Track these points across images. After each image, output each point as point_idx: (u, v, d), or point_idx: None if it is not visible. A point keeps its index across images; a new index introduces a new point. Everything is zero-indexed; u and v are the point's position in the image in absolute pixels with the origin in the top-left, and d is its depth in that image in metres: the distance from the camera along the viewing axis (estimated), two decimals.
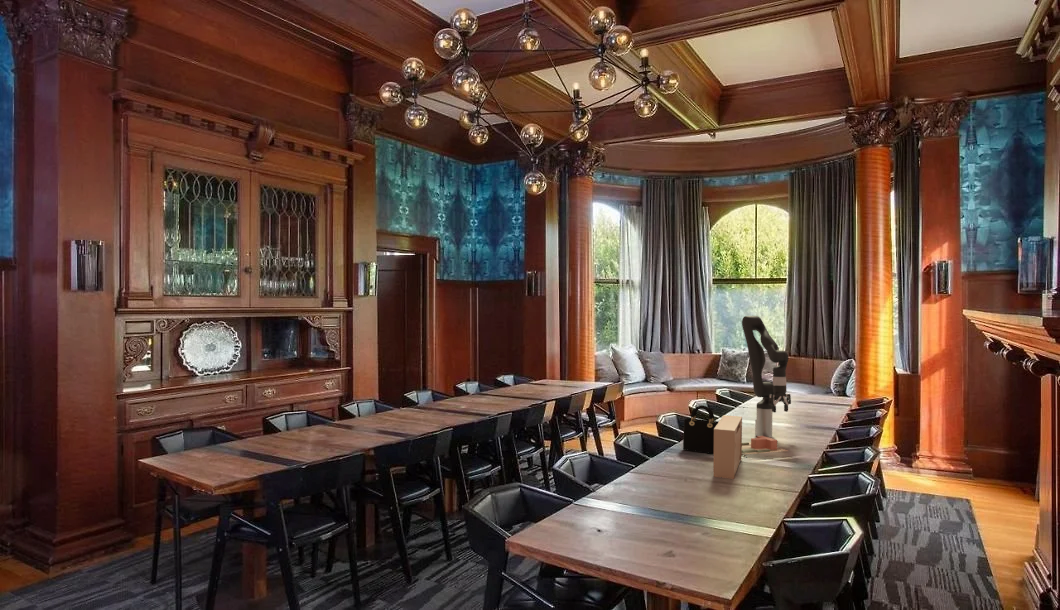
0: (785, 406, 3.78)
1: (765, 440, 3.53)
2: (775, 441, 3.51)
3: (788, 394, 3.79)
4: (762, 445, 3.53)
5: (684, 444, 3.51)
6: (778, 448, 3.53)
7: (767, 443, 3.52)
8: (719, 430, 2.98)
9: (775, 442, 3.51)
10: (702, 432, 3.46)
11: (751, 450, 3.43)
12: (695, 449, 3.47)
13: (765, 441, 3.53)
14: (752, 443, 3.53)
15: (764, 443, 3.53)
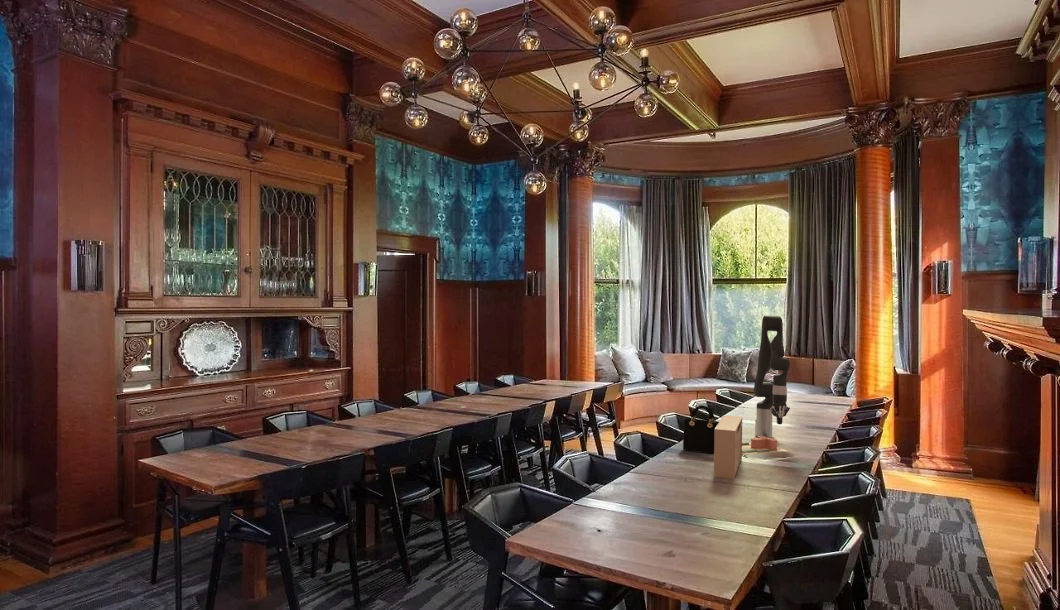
0: None
1: (765, 440, 3.53)
2: (775, 441, 3.51)
3: (788, 407, 3.60)
4: (762, 445, 3.53)
5: (684, 444, 3.51)
6: (778, 448, 3.53)
7: (767, 443, 3.52)
8: (720, 430, 2.98)
9: (775, 442, 3.51)
10: (702, 432, 3.46)
11: (751, 450, 3.43)
12: (695, 449, 3.47)
13: (765, 441, 3.53)
14: (752, 443, 3.53)
15: (764, 443, 3.53)
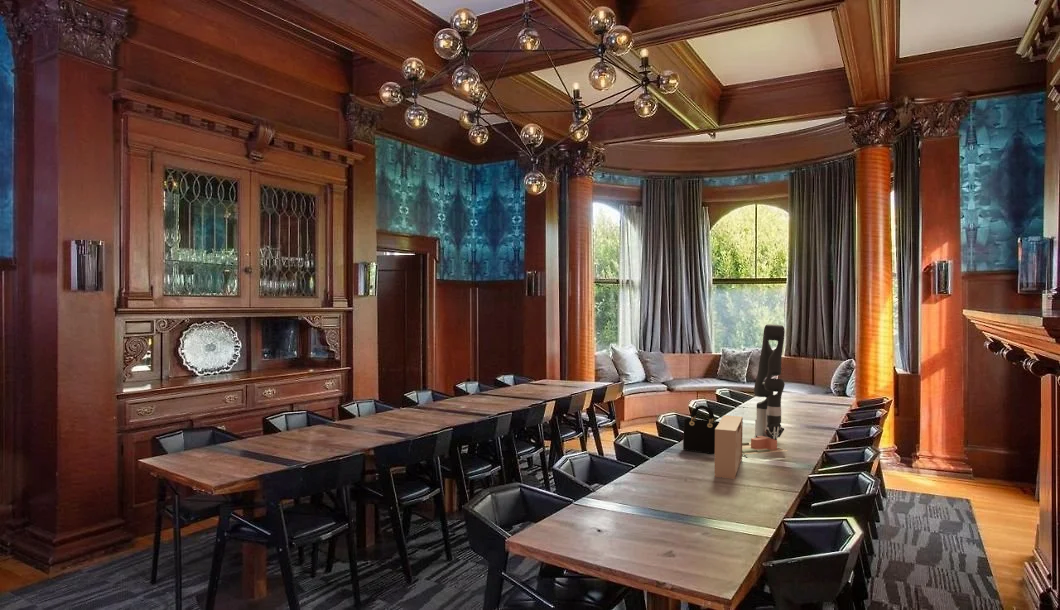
0: None
1: (765, 440, 3.53)
2: (775, 441, 3.51)
3: (782, 428, 3.58)
4: (762, 445, 3.53)
5: (684, 444, 3.51)
6: (778, 448, 3.53)
7: (767, 443, 3.52)
8: (720, 430, 2.98)
9: (775, 442, 3.51)
10: (702, 432, 3.46)
11: (751, 450, 3.43)
12: (695, 449, 3.47)
13: (765, 441, 3.53)
14: (752, 443, 3.53)
15: (764, 443, 3.53)
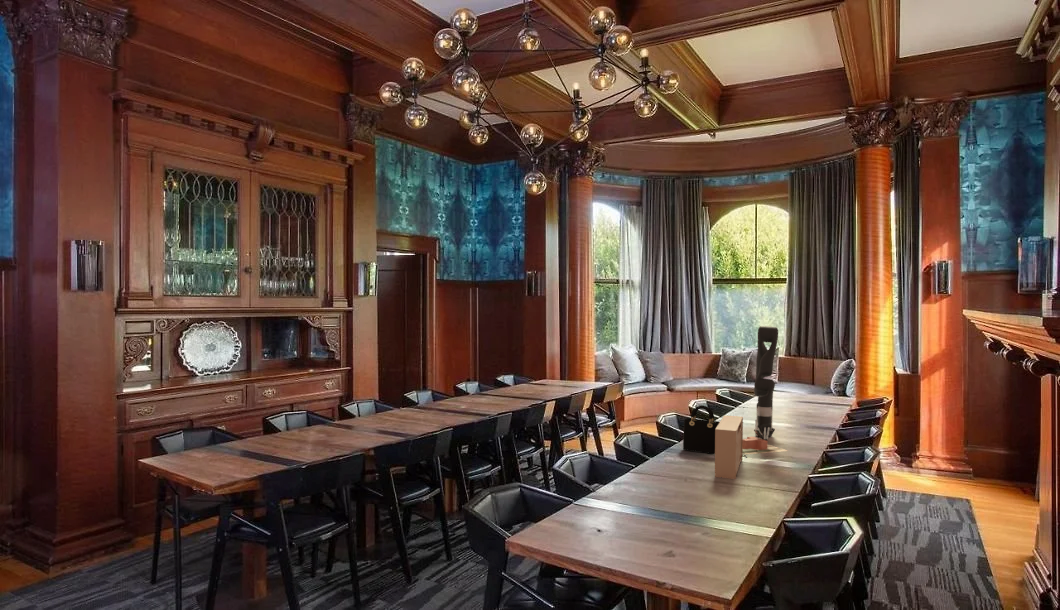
0: None
1: (755, 441, 3.51)
2: (765, 442, 3.48)
3: (773, 428, 3.56)
4: (752, 446, 3.50)
5: (684, 444, 3.51)
6: (778, 448, 3.53)
7: (758, 444, 3.50)
8: (720, 430, 2.97)
9: (765, 443, 3.48)
10: (702, 432, 3.46)
11: (751, 450, 3.43)
12: (695, 449, 3.47)
13: (755, 442, 3.51)
14: (743, 444, 3.51)
15: (754, 444, 3.51)
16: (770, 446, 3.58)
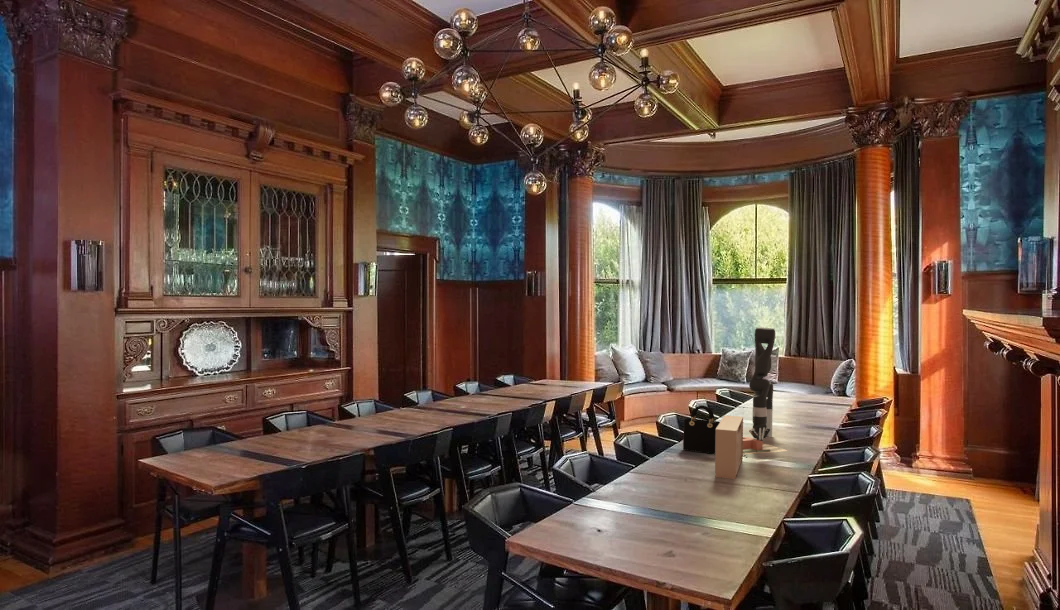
0: None
1: (750, 441, 3.50)
2: (760, 442, 3.48)
3: (768, 428, 3.55)
4: (747, 446, 3.49)
5: (684, 444, 3.51)
6: (778, 448, 3.53)
7: (753, 444, 3.49)
8: (721, 430, 2.97)
9: (760, 443, 3.48)
10: (702, 432, 3.46)
11: (751, 450, 3.43)
12: (695, 449, 3.47)
13: (750, 442, 3.50)
14: None
15: (749, 444, 3.50)
16: (770, 446, 3.58)
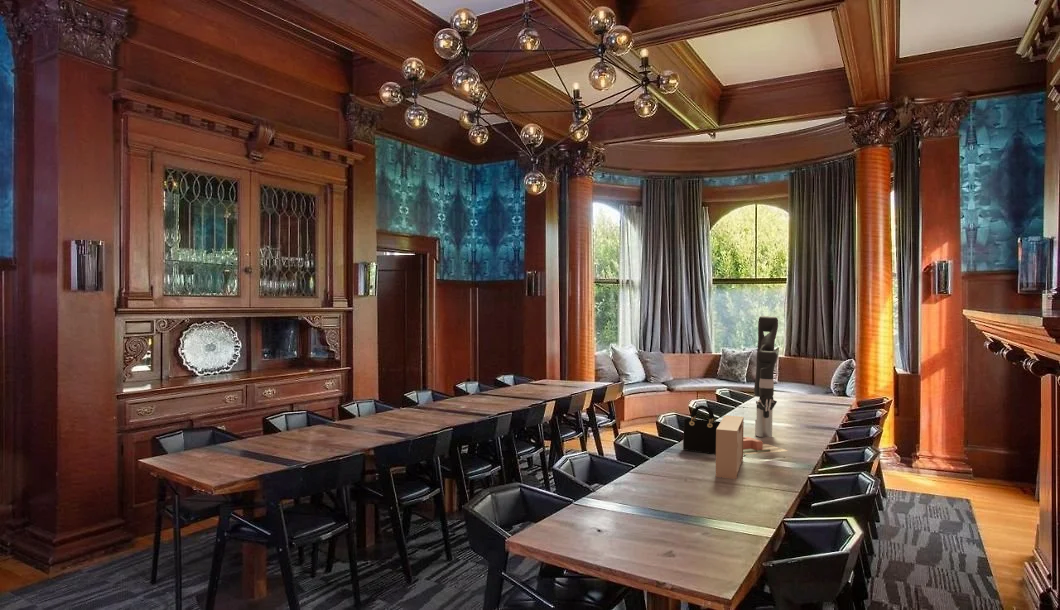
0: None
1: (750, 441, 3.50)
2: (760, 442, 3.48)
3: None
4: (747, 446, 3.49)
5: (684, 444, 3.51)
6: (778, 448, 3.53)
7: (753, 444, 3.49)
8: (721, 430, 2.97)
9: (760, 443, 3.48)
10: (702, 432, 3.46)
11: (751, 450, 3.43)
12: (695, 449, 3.47)
13: (750, 442, 3.50)
14: None
15: (749, 444, 3.50)
16: (770, 446, 3.58)
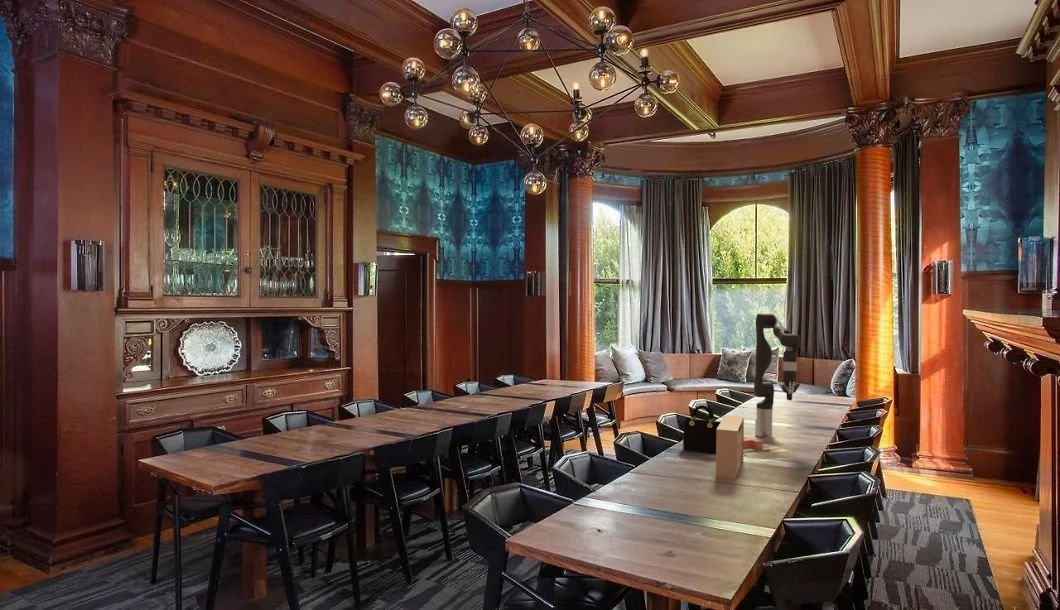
0: None
1: (750, 441, 3.50)
2: (760, 442, 3.48)
3: (798, 383, 3.61)
4: (747, 446, 3.49)
5: (684, 444, 3.51)
6: (778, 448, 3.53)
7: (753, 444, 3.49)
8: (722, 430, 2.97)
9: (760, 443, 3.48)
10: (702, 432, 3.46)
11: (751, 450, 3.43)
12: (695, 449, 3.47)
13: (750, 442, 3.50)
14: None
15: (749, 444, 3.50)
16: (770, 446, 3.58)
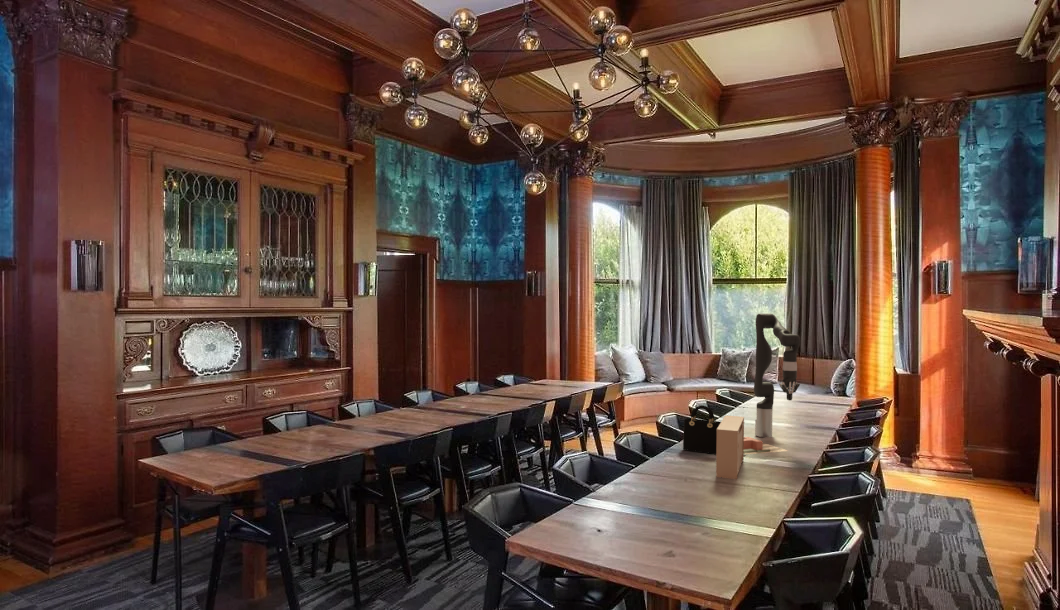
0: None
1: (750, 441, 3.50)
2: (760, 442, 3.48)
3: (798, 383, 3.61)
4: (747, 446, 3.49)
5: (684, 444, 3.51)
6: (778, 448, 3.53)
7: (753, 444, 3.49)
8: (722, 430, 2.97)
9: (760, 443, 3.48)
10: (702, 432, 3.46)
11: (751, 450, 3.43)
12: (695, 449, 3.47)
13: (750, 442, 3.50)
14: None
15: (749, 444, 3.50)
16: (770, 446, 3.58)
